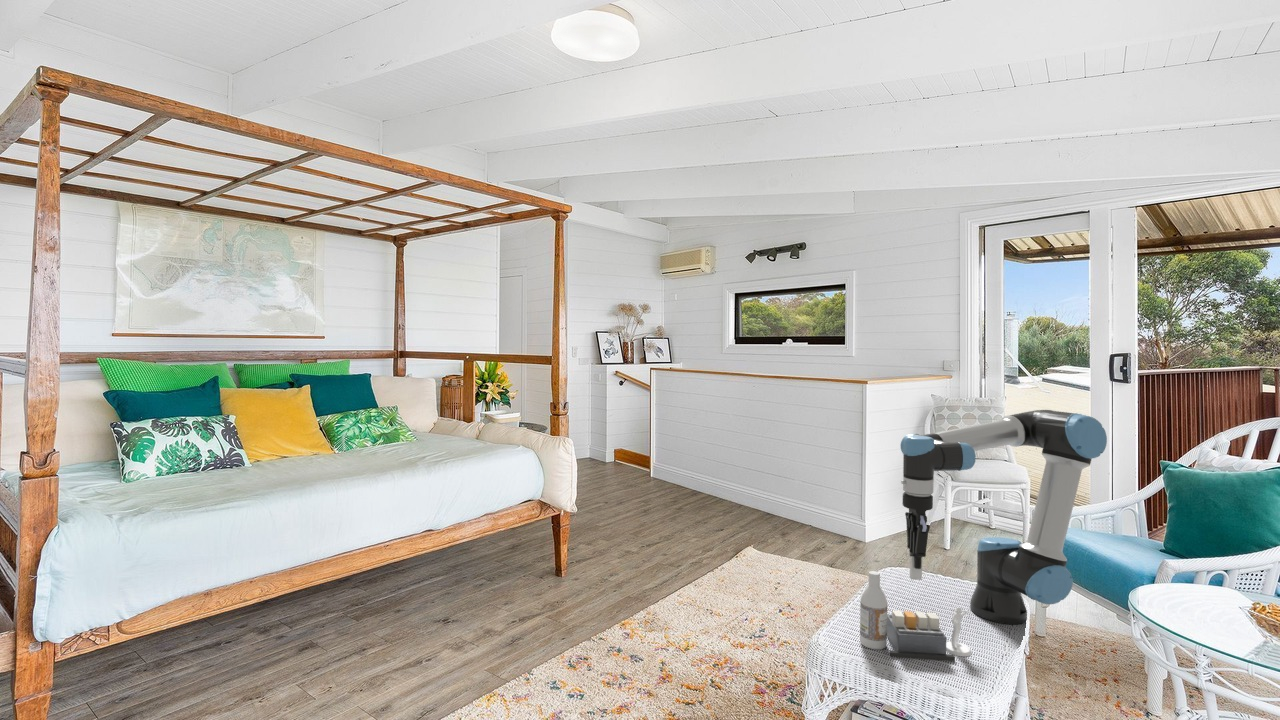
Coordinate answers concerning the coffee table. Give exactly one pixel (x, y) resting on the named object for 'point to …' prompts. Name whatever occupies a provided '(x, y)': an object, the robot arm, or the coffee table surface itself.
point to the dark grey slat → (922, 656)
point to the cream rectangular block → (932, 620)
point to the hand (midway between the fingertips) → (915, 578)
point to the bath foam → (873, 614)
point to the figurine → (954, 645)
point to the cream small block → (898, 618)
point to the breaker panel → (916, 639)
